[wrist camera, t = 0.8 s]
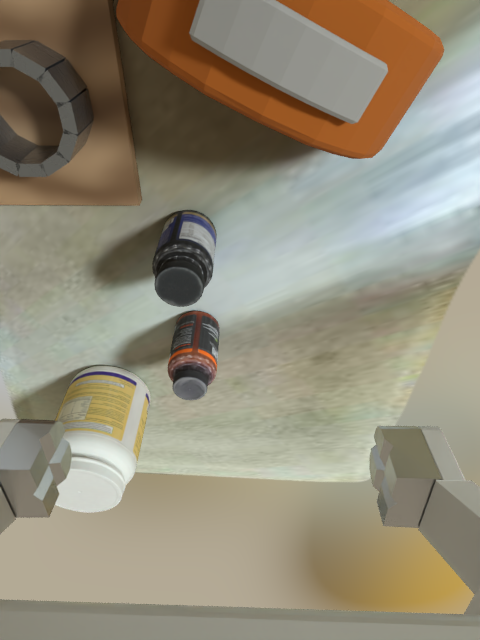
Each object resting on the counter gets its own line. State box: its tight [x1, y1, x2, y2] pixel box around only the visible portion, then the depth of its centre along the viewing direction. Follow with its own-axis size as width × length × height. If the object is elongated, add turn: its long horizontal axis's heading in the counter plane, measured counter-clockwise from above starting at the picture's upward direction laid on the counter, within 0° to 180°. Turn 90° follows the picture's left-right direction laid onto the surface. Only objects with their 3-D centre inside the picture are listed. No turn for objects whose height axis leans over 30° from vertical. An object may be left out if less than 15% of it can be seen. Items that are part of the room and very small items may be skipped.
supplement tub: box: [55, 366, 150, 512], centre depth 61 cm, size 12×12×17 cm
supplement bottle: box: [168, 311, 219, 400], centre depth 55 cm, size 6×6×11 cm
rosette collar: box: [0, 40, 94, 177], centre depth 39 cm, size 10×10×5 cm
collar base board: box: [0, 0, 142, 205], centre depth 41 cm, size 20×16×2 cm
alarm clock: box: [116, 0, 444, 159], centre depth 31 cm, size 23×9×17 cm, turn 65°
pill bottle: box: [153, 210, 216, 307], centre depth 46 cm, size 6×6×11 cm
